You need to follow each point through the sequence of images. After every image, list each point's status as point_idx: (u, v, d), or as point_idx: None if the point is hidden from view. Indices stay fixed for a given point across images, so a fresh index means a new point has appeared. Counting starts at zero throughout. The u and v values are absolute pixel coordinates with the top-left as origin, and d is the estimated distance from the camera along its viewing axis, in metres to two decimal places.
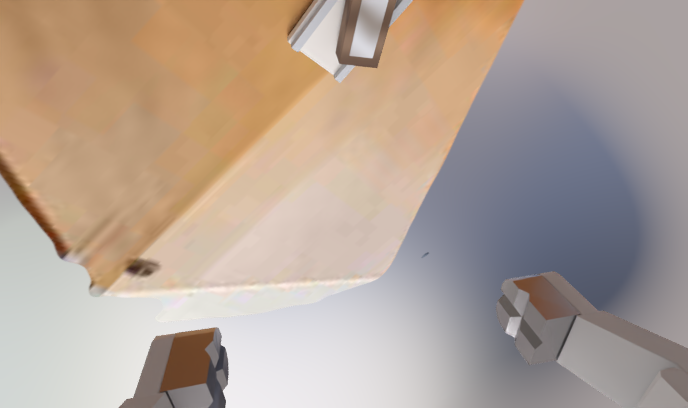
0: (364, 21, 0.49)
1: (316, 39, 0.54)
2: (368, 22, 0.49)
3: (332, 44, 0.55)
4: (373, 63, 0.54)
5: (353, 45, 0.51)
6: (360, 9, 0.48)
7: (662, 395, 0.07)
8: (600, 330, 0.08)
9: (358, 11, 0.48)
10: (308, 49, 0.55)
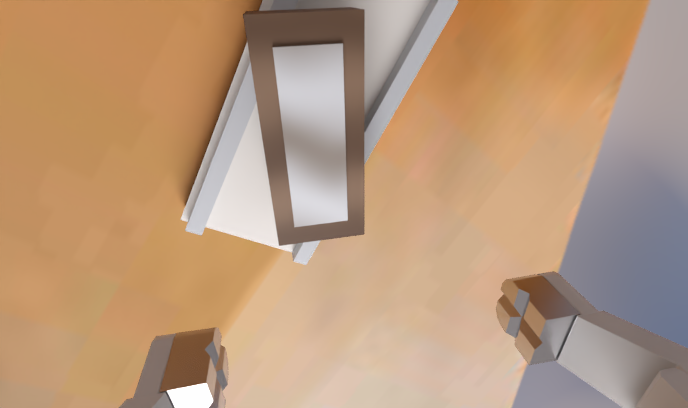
0: (303, 156, 0.21)
1: (235, 202, 0.27)
2: (313, 155, 0.21)
3: (271, 203, 0.28)
4: (353, 228, 0.25)
5: (296, 207, 0.23)
6: (284, 135, 0.20)
7: (662, 395, 0.07)
8: (600, 330, 0.08)
9: (282, 139, 0.20)
10: (226, 222, 0.28)
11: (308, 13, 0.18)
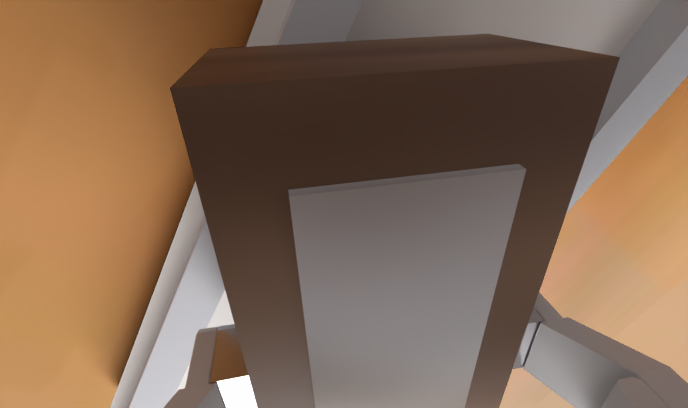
0: None
1: None
2: None
3: None
4: None
5: None
6: (317, 385, 0.07)
7: (620, 405, 0.07)
8: (563, 337, 0.08)
9: (309, 395, 0.07)
10: None
11: (427, 75, 0.05)
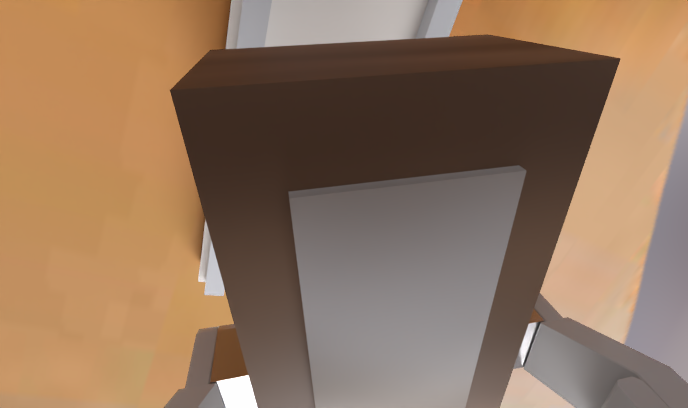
0: None
1: None
2: None
3: None
4: None
5: None
6: (317, 386, 0.07)
7: (619, 405, 0.07)
8: (563, 337, 0.08)
9: (309, 396, 0.07)
10: None
11: (427, 77, 0.05)
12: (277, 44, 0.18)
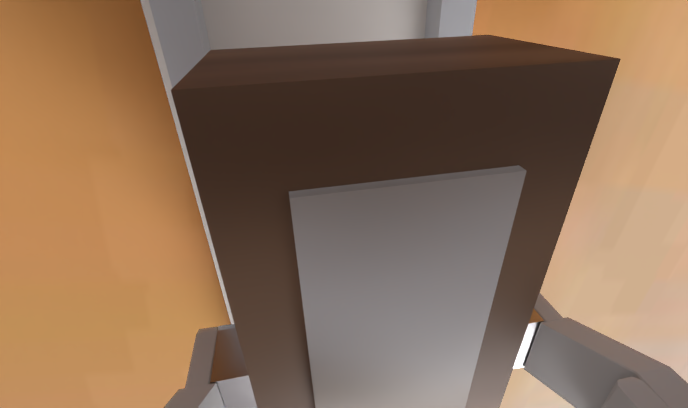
0: None
1: None
2: None
3: None
4: None
5: None
6: (317, 386, 0.07)
7: (619, 405, 0.07)
8: (562, 337, 0.08)
9: (309, 396, 0.07)
10: None
11: (427, 77, 0.05)
12: None
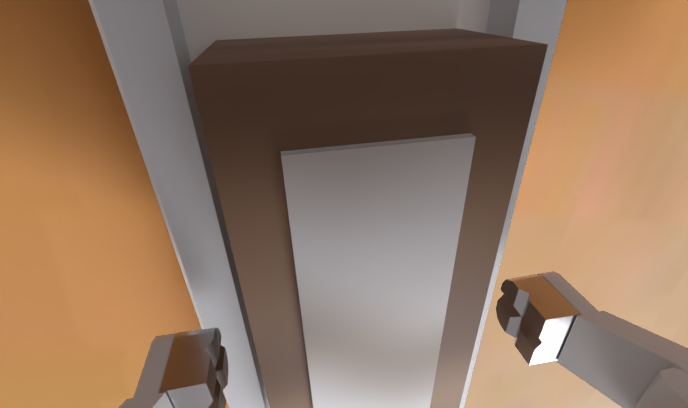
0: (347, 365, 0.09)
1: None
2: (369, 361, 0.09)
3: None
4: None
5: None
6: (307, 330, 0.09)
7: (662, 395, 0.07)
8: (600, 330, 0.08)
9: (300, 339, 0.09)
10: None
11: (390, 58, 0.06)
12: None
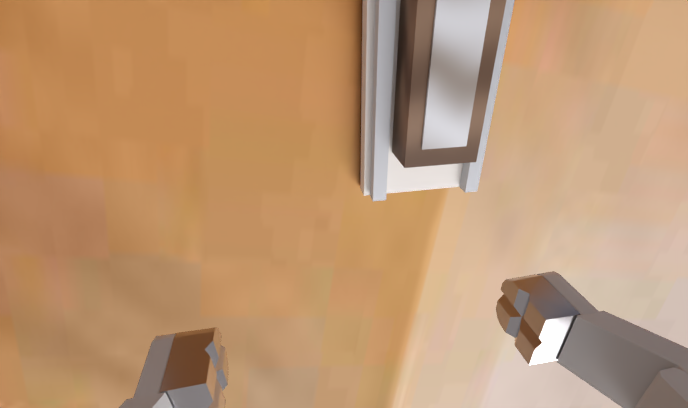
0: (442, 81, 0.25)
1: (400, 163, 0.31)
2: (451, 80, 0.25)
3: None
4: (468, 155, 0.28)
5: (427, 129, 0.26)
6: (431, 60, 0.24)
7: (662, 395, 0.07)
8: (600, 330, 0.08)
9: (428, 63, 0.24)
10: (398, 183, 0.32)
11: None
12: None
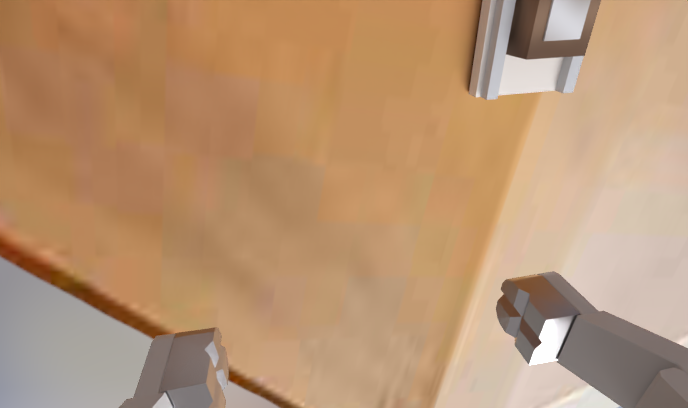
0: None
1: (509, 65, 0.36)
2: None
3: None
4: (579, 48, 0.33)
5: (551, 21, 0.31)
6: None
7: (662, 395, 0.07)
8: (600, 330, 0.08)
9: None
10: (505, 85, 0.37)
11: None
12: None
